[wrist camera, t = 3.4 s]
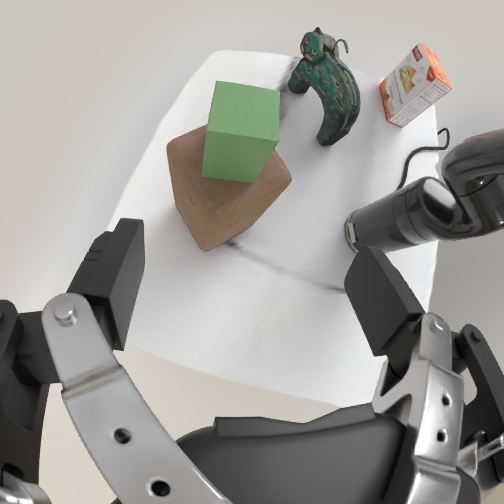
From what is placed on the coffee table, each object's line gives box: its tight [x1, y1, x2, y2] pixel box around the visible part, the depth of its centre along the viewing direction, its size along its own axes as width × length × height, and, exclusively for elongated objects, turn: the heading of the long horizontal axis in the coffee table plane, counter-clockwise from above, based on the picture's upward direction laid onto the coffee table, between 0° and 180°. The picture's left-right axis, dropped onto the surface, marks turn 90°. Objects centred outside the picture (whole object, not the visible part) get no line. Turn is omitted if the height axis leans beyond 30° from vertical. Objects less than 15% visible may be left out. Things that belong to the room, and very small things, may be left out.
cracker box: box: [380, 43, 452, 128], centre depth 49 cm, size 14×6×21 cm, turn 174°
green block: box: [202, 81, 280, 184], centre depth 22 cm, size 5×5×8 cm
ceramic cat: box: [287, 27, 360, 146], centre depth 43 cm, size 20×6×20 cm, turn 20°
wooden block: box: [167, 124, 292, 251], centre depth 35 cm, size 10×10×20 cm
